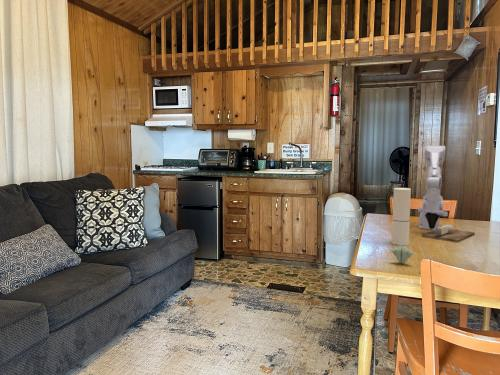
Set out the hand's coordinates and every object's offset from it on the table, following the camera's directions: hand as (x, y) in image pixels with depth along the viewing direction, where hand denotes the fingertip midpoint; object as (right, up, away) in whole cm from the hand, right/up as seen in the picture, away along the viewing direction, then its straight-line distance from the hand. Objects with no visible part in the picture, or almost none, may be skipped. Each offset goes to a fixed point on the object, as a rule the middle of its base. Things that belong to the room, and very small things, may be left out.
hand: (431, 228), depth 189 cm
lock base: (+8, -4, -1) cm, 9 cm away
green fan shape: (-32, -9, -44) cm, 55 cm away
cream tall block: (-21, -5, -15) cm, 26 cm away
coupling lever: (+4, -2, -3) cm, 5 cm away
